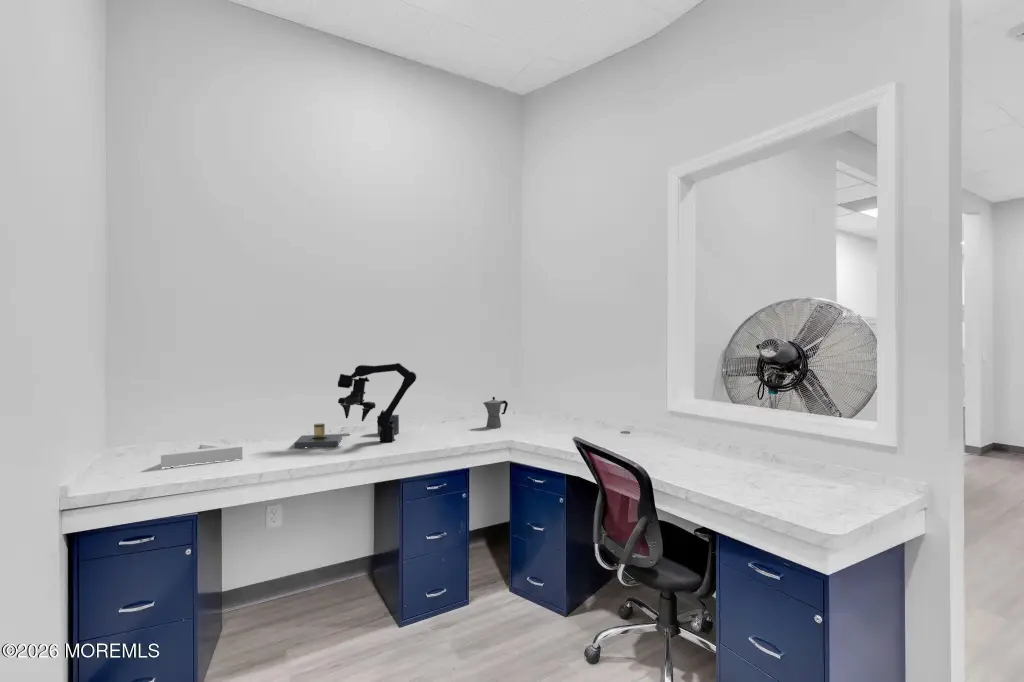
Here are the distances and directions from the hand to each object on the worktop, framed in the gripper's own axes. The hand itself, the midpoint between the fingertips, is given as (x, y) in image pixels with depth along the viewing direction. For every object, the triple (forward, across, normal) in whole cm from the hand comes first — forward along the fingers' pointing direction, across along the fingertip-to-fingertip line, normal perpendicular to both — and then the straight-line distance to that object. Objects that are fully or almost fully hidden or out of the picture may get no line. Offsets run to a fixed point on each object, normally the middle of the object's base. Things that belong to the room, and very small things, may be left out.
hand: (354, 419), depth 271 cm
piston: (+14, -13, -8) cm, 21 cm away
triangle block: (+20, -37, -50) cm, 65 cm away
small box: (+10, +7, +26) cm, 28 cm away
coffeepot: (+1, +57, +62) cm, 84 cm away
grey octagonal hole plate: (+14, -13, -8) cm, 21 cm away
